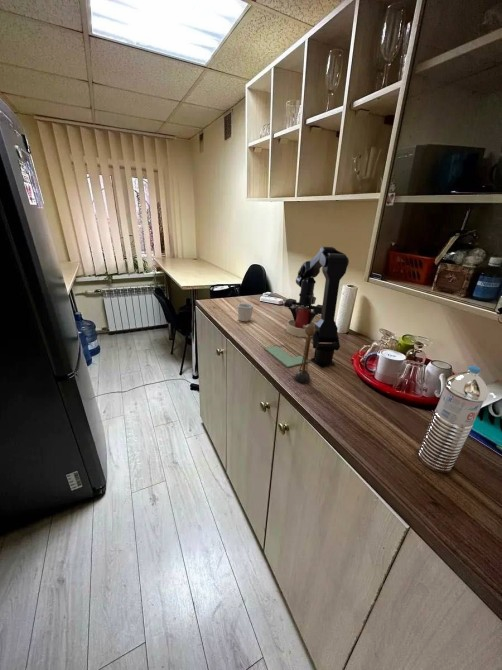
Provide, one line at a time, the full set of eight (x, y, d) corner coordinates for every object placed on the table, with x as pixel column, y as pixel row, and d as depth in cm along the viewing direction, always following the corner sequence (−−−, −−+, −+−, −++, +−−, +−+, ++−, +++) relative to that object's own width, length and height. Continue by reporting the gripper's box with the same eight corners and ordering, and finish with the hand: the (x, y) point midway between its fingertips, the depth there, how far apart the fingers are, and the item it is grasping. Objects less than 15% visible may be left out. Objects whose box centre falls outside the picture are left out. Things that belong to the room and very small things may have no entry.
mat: (309, 362, 103) (309, 361, 103) (287, 367, 99) (287, 366, 99) (284, 345, 116) (284, 344, 116) (264, 349, 112) (264, 348, 111)
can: (311, 332, 129) (314, 310, 125) (300, 334, 126) (303, 312, 122) (302, 328, 135) (305, 306, 130) (291, 329, 132) (294, 308, 127)
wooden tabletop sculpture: (291, 374, 94) (298, 320, 86) (303, 373, 96) (311, 319, 88) (299, 384, 89) (308, 327, 81) (311, 382, 91) (321, 326, 83)
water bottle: (438, 450, 66) (477, 359, 56) (458, 474, 60) (507, 377, 50) (410, 449, 66) (446, 358, 56) (428, 474, 59) (472, 376, 50)
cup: (232, 316, 145) (233, 301, 142) (246, 315, 149) (247, 300, 145) (240, 323, 136) (241, 308, 133) (254, 321, 140) (255, 306, 137)
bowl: (322, 335, 128) (323, 327, 127) (298, 340, 122) (299, 331, 120) (303, 325, 140) (304, 317, 138) (280, 329, 133) (281, 320, 131)
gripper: (332, 291, 125) (326, 323, 131) (294, 284, 133) (291, 315, 140) (325, 296, 116) (319, 330, 122) (285, 288, 125) (281, 320, 131)
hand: (302, 323), depth 129 cm, fingers closed on can, 6 cm apart
